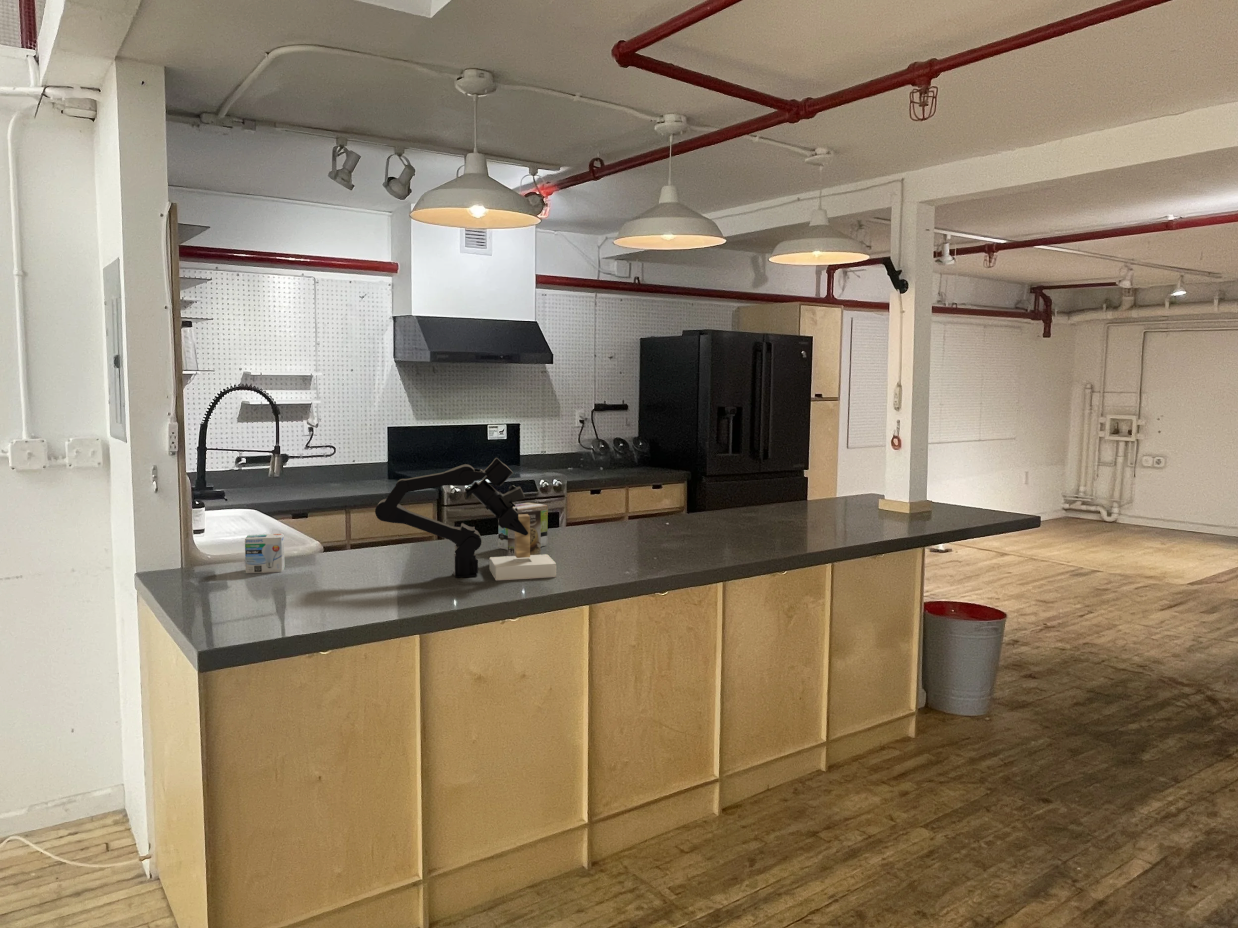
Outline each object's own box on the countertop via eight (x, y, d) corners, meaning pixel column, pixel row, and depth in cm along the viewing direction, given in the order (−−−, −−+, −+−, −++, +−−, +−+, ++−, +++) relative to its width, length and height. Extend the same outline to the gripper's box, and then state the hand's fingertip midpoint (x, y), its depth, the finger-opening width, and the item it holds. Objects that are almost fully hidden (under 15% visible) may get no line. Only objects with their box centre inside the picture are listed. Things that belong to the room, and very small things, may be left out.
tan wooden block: (516, 557, 265) (516, 516, 264) (514, 555, 269) (514, 514, 268) (530, 557, 266) (529, 516, 265) (527, 554, 270) (527, 513, 269)
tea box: (518, 552, 299) (518, 509, 298) (497, 548, 305) (497, 506, 304) (548, 545, 311) (548, 503, 310) (527, 542, 317) (527, 501, 316)
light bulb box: (245, 574, 265) (243, 538, 264) (248, 569, 272) (246, 534, 271) (283, 572, 268) (282, 536, 267) (285, 567, 275) (284, 532, 273)
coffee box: (518, 562, 283) (517, 512, 281) (507, 559, 288) (506, 510, 286) (541, 559, 289) (541, 510, 287) (530, 555, 294) (530, 507, 292)
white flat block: (495, 580, 259) (495, 566, 259) (489, 569, 272) (489, 557, 272) (556, 576, 264) (556, 563, 263) (547, 566, 277) (547, 554, 277)
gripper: (509, 481, 255) (548, 518, 258) (507, 474, 274) (543, 509, 277) (482, 509, 255) (521, 546, 258) (482, 500, 273) (518, 534, 276)
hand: (526, 532), depth 267 cm, fingers closed on tan wooden block, 4 cm apart
